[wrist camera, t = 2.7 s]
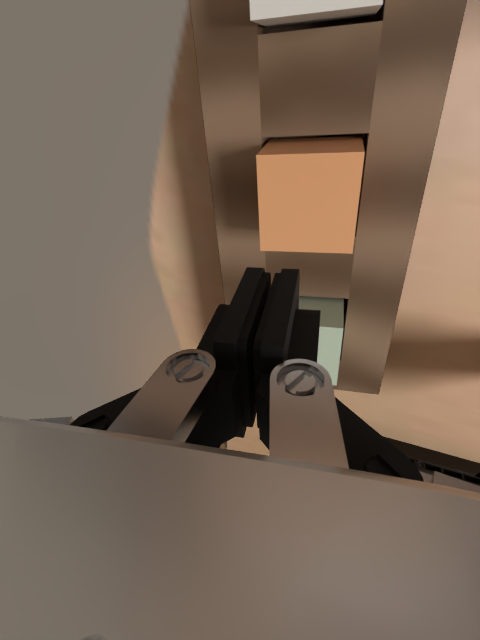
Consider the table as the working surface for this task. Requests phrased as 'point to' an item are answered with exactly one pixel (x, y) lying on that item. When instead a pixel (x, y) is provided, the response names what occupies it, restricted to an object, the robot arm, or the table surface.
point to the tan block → (309, 193)
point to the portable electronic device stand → (439, 462)
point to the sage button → (328, 330)
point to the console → (328, 121)
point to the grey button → (309, 11)
